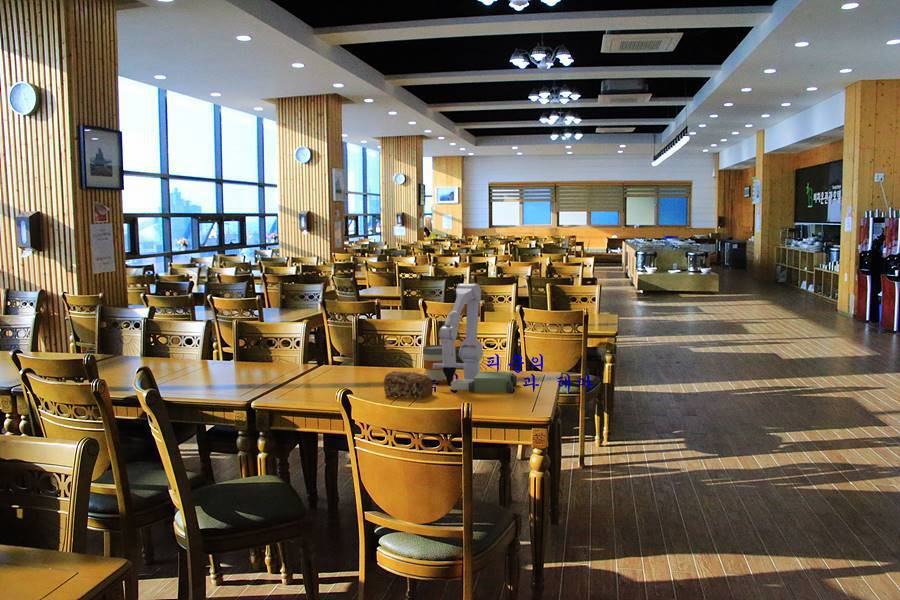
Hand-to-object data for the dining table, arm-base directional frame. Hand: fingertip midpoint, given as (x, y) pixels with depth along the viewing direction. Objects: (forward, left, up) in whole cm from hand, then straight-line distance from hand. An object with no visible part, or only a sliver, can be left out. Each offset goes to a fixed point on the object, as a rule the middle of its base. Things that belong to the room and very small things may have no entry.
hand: (450, 384), depth 332 cm
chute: (0, +6, -1) cm, 6 cm away
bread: (+14, -15, -2) cm, 21 cm away
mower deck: (0, +19, -2) cm, 19 cm away
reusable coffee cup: (-21, -11, -2) cm, 24 cm away
